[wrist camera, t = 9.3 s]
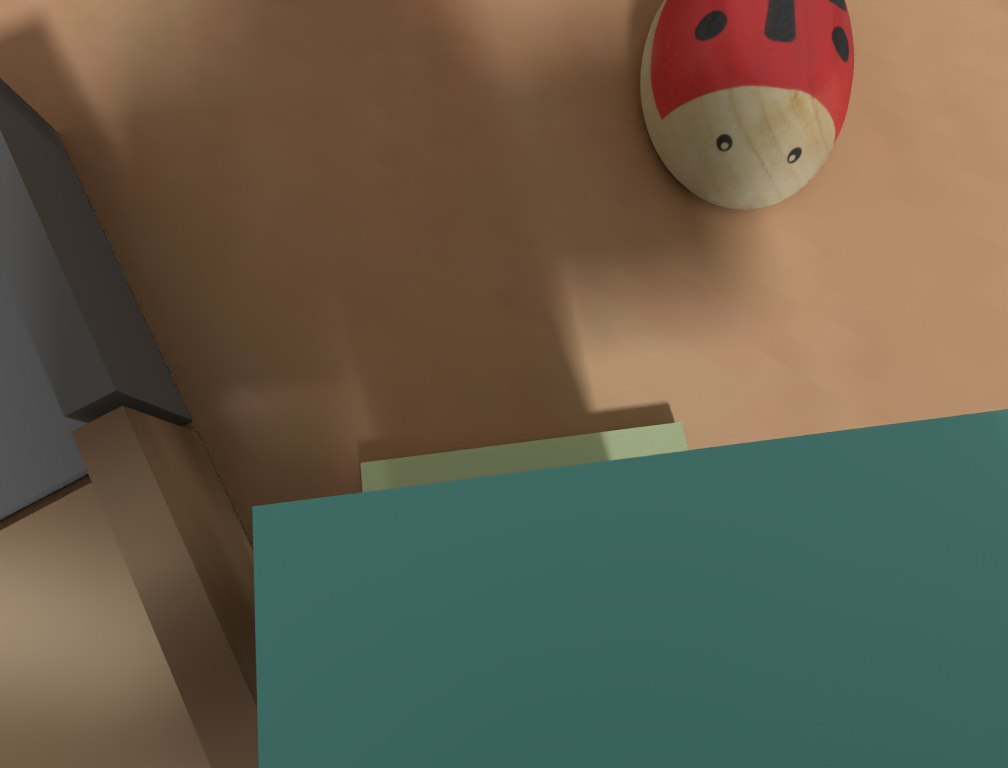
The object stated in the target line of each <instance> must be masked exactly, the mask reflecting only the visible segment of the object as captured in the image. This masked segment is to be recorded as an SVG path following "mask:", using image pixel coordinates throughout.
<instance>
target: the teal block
mask: <svg viewBox="0 0 1008 768" xmlns="http://www.w3.org/2000/svg"><path fill="white" fill-rule="evenodd" d="M252 517H253V556H254V596H255V636H256V676H257V715H258V755H259V768H1008V409H1006V410H999V411H991V412H983V413H975V414H968V415H960V416H952V417H944V418H936V419H929V420H921V421H913V422H905V423H898V424H890V425H882V426H874V427H866V428H859V429H851V430H843V431H835V432H827V433H820V434H812V435H804V436H796V437H789V438H781V439H773V440H765V441H757V442H750V443H742V444H734V445H726V446H719V447H711V448H703V449H695V450H687V451H680V452H672V453H664V454H656V455H649V456H641V457H633V458H625V459H617V460H610V461H602V462H594V463H586V464H579V465H571V466H563V467H555V468H547V469H540V470H532V471H524V472H516V473H508V474H501V475H493V476H485V477H477V478H470V479H462V480H454V481H446V482H438V483H431V484H423V485H415V486H407V487H400V488H392V489H384V490H376V491H368V492H361V493H353V494H345V495H337V496H330V497H322V498H314V499H306V500H298V501H291V502H283V503H275V504H267V505H260V506H252Z"/></svg>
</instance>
